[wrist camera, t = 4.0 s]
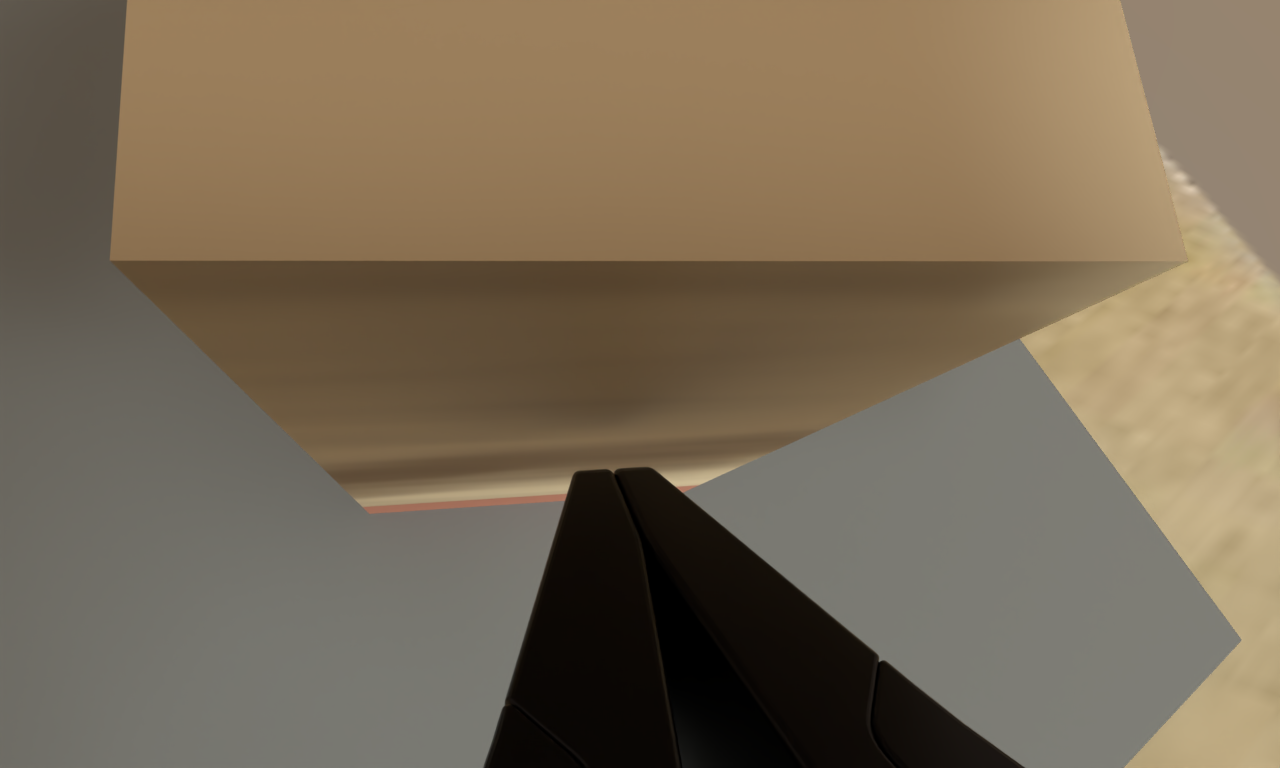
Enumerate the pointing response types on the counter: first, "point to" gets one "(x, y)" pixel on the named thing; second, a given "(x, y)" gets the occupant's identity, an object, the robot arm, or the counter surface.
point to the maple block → (619, 217)
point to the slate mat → (484, 526)
